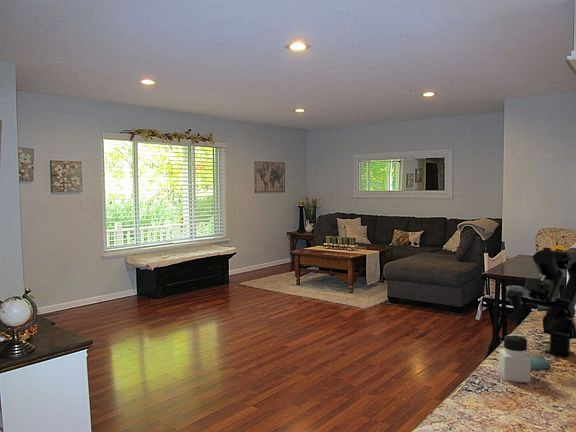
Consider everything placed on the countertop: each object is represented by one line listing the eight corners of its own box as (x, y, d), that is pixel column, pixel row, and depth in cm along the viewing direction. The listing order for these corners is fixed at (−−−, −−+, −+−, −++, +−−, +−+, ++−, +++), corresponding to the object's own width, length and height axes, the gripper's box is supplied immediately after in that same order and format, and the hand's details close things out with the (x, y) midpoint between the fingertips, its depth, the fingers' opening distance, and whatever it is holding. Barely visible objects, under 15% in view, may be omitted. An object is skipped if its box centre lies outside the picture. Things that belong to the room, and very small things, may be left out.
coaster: (522, 355, 158) (522, 352, 158) (554, 364, 150) (554, 361, 150) (506, 362, 152) (506, 359, 152) (538, 372, 144) (538, 369, 144)
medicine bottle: (531, 383, 137) (532, 341, 136) (504, 381, 138) (505, 339, 137) (524, 373, 143) (525, 333, 143) (498, 371, 145) (499, 332, 144)
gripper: (509, 264, 154) (489, 304, 148) (572, 272, 139) (552, 317, 133) (521, 285, 159) (502, 324, 153) (583, 295, 144) (565, 340, 138)
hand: (529, 326), depth 144 cm, fingers open, 9 cm apart
